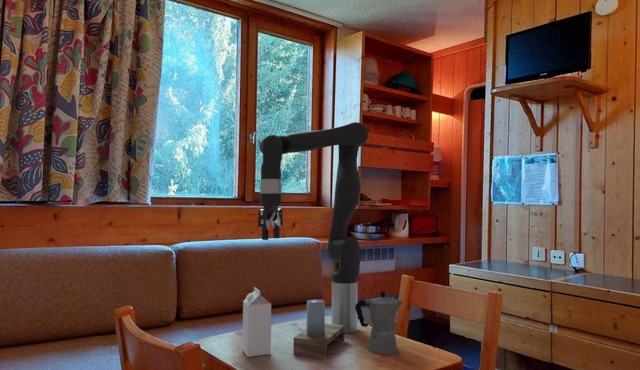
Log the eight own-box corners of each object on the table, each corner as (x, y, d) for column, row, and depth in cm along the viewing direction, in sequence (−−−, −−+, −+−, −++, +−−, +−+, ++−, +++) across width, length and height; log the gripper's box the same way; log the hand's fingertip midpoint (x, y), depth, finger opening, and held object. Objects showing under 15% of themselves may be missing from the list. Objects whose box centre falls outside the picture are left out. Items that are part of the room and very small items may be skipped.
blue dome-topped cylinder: (310, 331, 144) (310, 299, 144) (327, 332, 142) (327, 300, 143) (303, 335, 139) (304, 302, 139) (320, 337, 137) (321, 303, 137)
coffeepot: (397, 344, 147) (397, 287, 148) (408, 353, 138) (408, 293, 139) (351, 347, 144) (351, 289, 145) (359, 356, 135) (359, 294, 136)
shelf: (316, 337, 154) (316, 322, 155) (344, 340, 151) (344, 325, 151) (293, 354, 137) (293, 337, 137) (324, 358, 133) (325, 341, 133)
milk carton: (265, 348, 143) (265, 286, 144) (270, 354, 136) (271, 290, 137) (242, 350, 140) (243, 287, 141) (247, 357, 134) (248, 291, 135)
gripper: (271, 191, 152) (271, 241, 151) (289, 192, 165) (289, 237, 165) (251, 192, 155) (251, 240, 154) (270, 193, 168) (270, 237, 167)
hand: (271, 239), depth 159 cm, fingers open, 8 cm apart
